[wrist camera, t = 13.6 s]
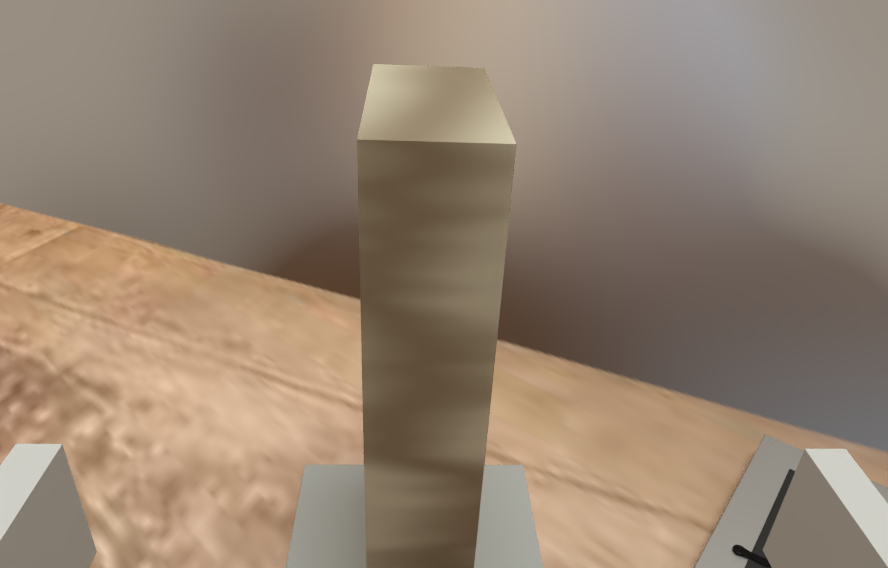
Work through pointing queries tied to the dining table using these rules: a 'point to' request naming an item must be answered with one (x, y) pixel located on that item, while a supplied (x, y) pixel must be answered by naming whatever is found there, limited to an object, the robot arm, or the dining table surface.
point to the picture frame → (755, 508)
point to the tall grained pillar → (429, 305)
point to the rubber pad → (344, 534)
